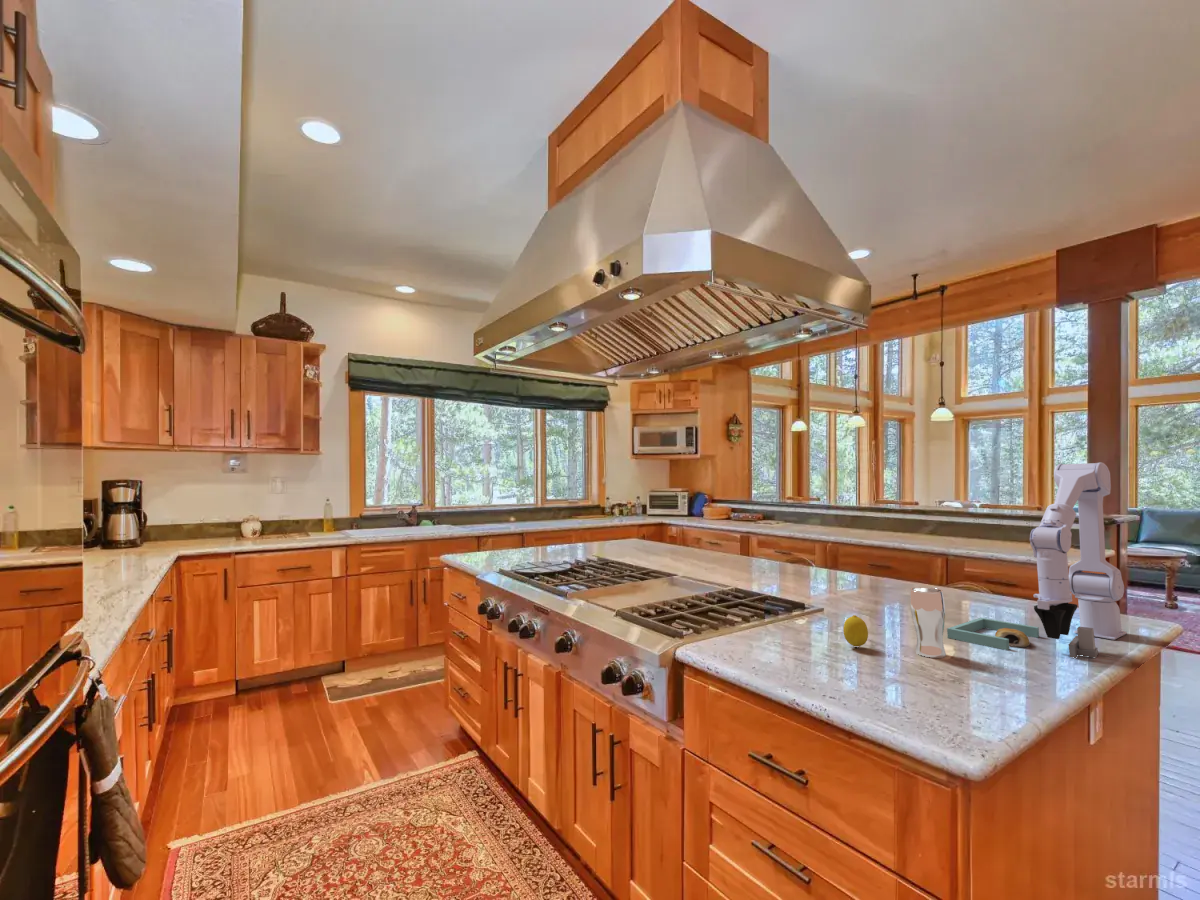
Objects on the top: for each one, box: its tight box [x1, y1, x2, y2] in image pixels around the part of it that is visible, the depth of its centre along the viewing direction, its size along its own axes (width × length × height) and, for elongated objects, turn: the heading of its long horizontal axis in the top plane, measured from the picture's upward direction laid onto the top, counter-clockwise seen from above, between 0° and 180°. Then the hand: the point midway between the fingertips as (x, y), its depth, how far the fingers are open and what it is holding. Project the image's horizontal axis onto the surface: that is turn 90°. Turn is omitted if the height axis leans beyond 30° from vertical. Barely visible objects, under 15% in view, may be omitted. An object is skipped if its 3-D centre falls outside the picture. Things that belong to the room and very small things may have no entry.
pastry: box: [994, 628, 1030, 648], centre depth 136 cm, size 9×7×4 cm
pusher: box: [1068, 626, 1099, 659], centre depth 125 cm, size 10×4×6 cm, turn 131°
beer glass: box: [910, 586, 947, 659], centre depth 129 cm, size 7×7×15 cm
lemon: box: [842, 614, 869, 647], centre depth 135 cm, size 6×6×8 cm
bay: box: [946, 617, 1040, 651], centre depth 140 cm, size 18×13×2 cm
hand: (1057, 636), depth 129 cm, fingers open, 5 cm apart
